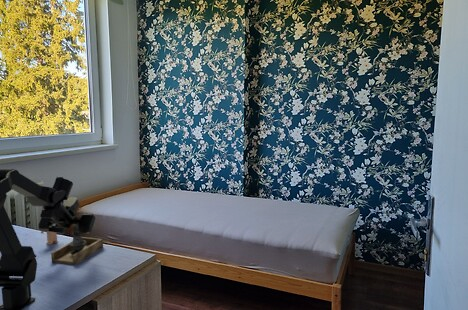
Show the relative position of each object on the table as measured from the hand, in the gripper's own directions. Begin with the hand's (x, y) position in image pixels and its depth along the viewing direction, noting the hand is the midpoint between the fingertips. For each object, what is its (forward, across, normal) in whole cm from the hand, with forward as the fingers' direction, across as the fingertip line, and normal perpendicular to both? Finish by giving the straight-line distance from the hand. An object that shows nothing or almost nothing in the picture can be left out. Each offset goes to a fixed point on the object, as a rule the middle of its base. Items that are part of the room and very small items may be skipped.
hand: (76, 232), depth 131 cm
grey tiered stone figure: (+6, 0, +5) cm, 8 cm away
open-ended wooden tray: (+7, 0, +6) cm, 9 cm away
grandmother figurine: (+14, +17, -1) cm, 21 cm away
